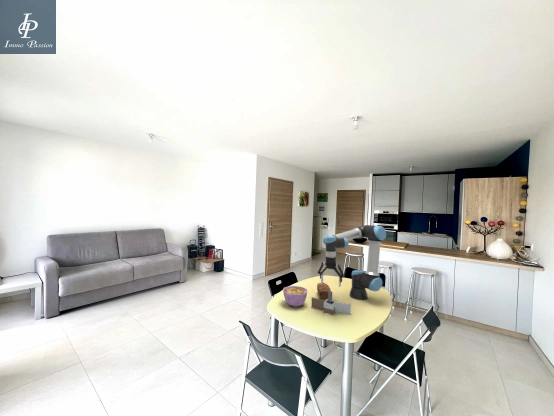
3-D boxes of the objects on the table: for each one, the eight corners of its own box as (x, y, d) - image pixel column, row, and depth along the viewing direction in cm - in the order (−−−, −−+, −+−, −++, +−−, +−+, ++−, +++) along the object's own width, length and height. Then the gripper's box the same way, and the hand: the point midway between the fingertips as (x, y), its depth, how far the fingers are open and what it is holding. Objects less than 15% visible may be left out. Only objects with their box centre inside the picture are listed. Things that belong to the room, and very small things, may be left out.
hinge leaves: (314, 304, 174) (314, 295, 174) (351, 313, 159) (351, 303, 159) (309, 308, 166) (310, 299, 166) (347, 319, 151) (348, 308, 151)
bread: (316, 292, 201) (316, 281, 202) (328, 293, 200) (328, 282, 201) (319, 300, 183) (319, 288, 183) (331, 301, 182) (331, 289, 182)
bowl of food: (290, 297, 187) (291, 284, 188) (311, 303, 176) (311, 289, 176) (277, 305, 171) (278, 290, 171) (299, 312, 160) (300, 296, 160)
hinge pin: (328, 310, 163) (328, 290, 164) (332, 311, 162) (332, 291, 162) (327, 312, 161) (327, 292, 161) (331, 313, 159) (331, 292, 160)
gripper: (313, 255, 166) (313, 283, 165) (346, 259, 153) (346, 289, 152) (316, 254, 172) (316, 280, 172) (348, 257, 159) (348, 286, 159)
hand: (330, 284), depth 162 cm, fingers open, 13 cm apart
